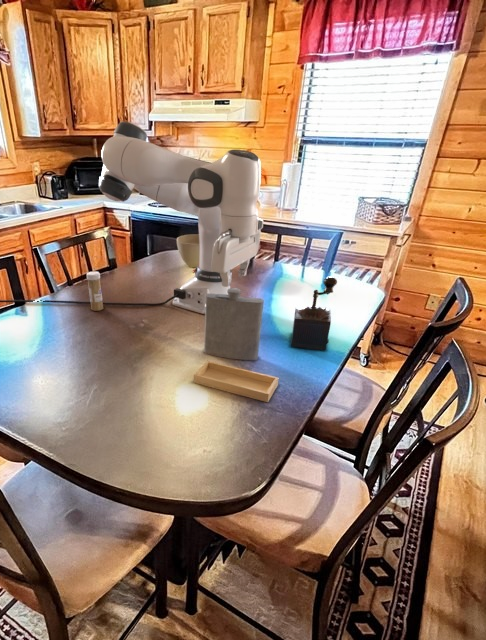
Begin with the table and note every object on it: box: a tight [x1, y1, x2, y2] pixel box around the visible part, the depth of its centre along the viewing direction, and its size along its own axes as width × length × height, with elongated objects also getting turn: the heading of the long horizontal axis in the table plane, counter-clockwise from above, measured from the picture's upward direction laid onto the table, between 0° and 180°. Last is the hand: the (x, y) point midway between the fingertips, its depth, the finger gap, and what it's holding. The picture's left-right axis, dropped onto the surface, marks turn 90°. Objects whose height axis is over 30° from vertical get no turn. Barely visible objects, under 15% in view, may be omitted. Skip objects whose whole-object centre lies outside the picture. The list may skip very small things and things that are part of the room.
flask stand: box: [193, 360, 280, 403], centre depth 107 cm, size 20×9×2 cm, turn 62°
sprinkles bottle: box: [86, 270, 104, 312], centre depth 149 cm, size 5×5×14 cm
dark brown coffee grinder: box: [290, 276, 338, 351], centre depth 125 cm, size 16×11×18 cm
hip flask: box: [203, 287, 265, 361], centre depth 116 cm, size 16×4×20 cm, turn 71°
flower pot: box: [176, 233, 200, 268], centre depth 194 cm, size 18×18×12 cm
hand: (234, 280), depth 109 cm, fingers open, 8 cm apart
